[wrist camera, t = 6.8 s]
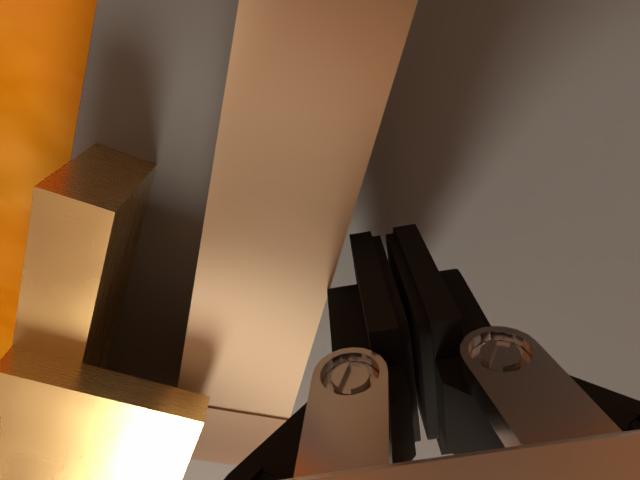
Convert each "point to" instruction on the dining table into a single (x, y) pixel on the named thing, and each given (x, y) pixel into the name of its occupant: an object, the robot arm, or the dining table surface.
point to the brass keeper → (86, 339)
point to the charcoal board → (409, 171)
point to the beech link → (282, 203)
